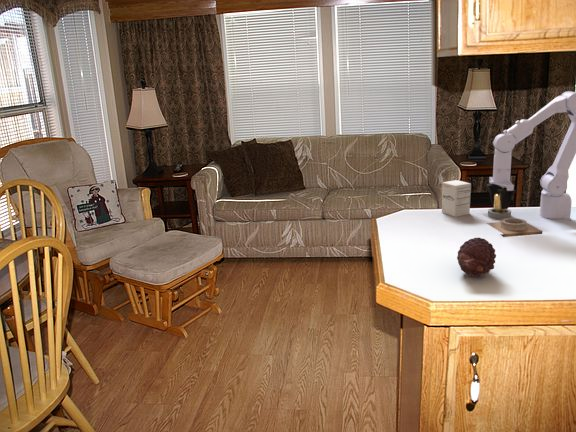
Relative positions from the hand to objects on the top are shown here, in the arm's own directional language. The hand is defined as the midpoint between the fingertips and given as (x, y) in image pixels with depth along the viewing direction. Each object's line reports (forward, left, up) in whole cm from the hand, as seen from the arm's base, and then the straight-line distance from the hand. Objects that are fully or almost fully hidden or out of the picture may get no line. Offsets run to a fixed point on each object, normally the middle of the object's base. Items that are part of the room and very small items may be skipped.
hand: (499, 206), depth 197 cm
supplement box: (+13, -8, -5) cm, 16 cm away
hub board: (+1, +14, -5) cm, 14 cm away
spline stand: (0, 0, -5) cm, 5 cm away
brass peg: (0, 0, -4) cm, 4 cm away
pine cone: (+29, +48, -5) cm, 56 cm away
